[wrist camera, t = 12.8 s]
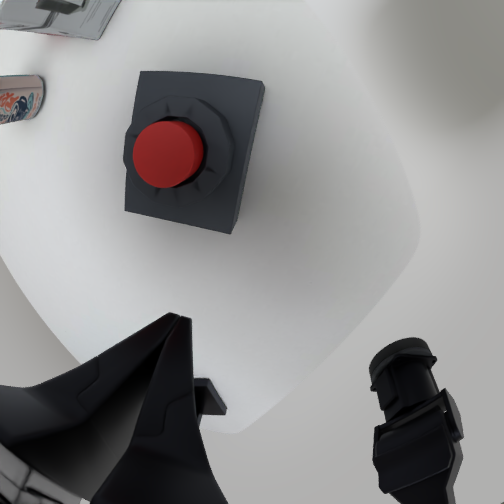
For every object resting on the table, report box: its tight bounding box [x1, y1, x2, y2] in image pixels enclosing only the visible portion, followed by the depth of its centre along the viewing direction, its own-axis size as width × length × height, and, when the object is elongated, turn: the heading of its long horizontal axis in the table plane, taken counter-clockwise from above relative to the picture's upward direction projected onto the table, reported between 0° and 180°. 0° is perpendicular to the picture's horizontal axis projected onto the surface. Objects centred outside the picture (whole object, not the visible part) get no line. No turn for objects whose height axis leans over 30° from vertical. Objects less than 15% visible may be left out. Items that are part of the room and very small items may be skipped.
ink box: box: [0, 0, 121, 40], centre depth 8 cm, size 9×5×12 cm, turn 63°
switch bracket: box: [194, 379, 227, 425], centre depth 26 cm, size 10×7×12 cm
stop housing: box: [123, 71, 265, 234], centre depth 16 cm, size 10×8×4 cm
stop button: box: [133, 121, 204, 188], centre depth 14 cm, size 4×4×2 cm
